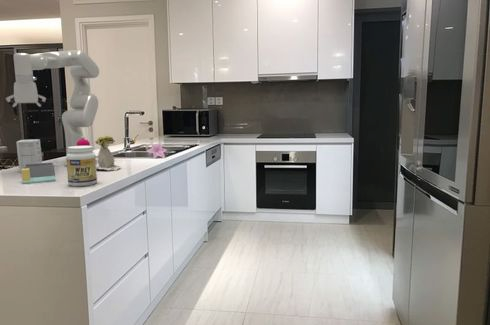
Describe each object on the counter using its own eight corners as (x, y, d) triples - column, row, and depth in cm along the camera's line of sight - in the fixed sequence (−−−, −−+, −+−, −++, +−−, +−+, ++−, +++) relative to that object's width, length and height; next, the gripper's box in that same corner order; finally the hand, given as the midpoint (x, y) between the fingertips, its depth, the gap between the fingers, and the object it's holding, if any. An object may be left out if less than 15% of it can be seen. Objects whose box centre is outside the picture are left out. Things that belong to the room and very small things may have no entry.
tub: (54, 173, 205) (53, 162, 204) (55, 176, 197) (54, 164, 196) (25, 176, 199) (24, 164, 198) (25, 179, 191) (23, 167, 190)
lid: (55, 179, 192) (54, 165, 191) (55, 183, 184) (54, 168, 183) (23, 182, 186) (22, 167, 185) (22, 186, 178) (21, 171, 177)
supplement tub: (68, 188, 172) (65, 148, 170) (68, 182, 183) (65, 145, 181) (98, 185, 177) (95, 147, 174) (96, 180, 188) (94, 144, 185)
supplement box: (43, 169, 218) (40, 139, 215) (39, 172, 209) (36, 140, 206) (24, 170, 215) (21, 139, 213) (18, 173, 206) (15, 141, 204)
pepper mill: (77, 175, 200) (74, 135, 197) (92, 174, 203) (90, 135, 200) (77, 178, 194) (74, 137, 190) (93, 176, 196) (90, 136, 193)
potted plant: (108, 172, 209) (105, 137, 206) (90, 170, 215) (88, 136, 212) (124, 168, 219) (122, 135, 216) (107, 166, 225) (105, 134, 222)
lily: (144, 160, 257) (146, 147, 252) (149, 150, 267) (151, 138, 261) (162, 165, 258) (165, 153, 253) (166, 156, 268) (169, 144, 263)
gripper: (44, 80, 201) (47, 114, 203) (4, 79, 193) (8, 115, 196) (44, 79, 194) (47, 114, 197) (3, 78, 186) (7, 115, 189)
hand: (27, 115), depth 196 cm, fingers open, 9 cm apart
